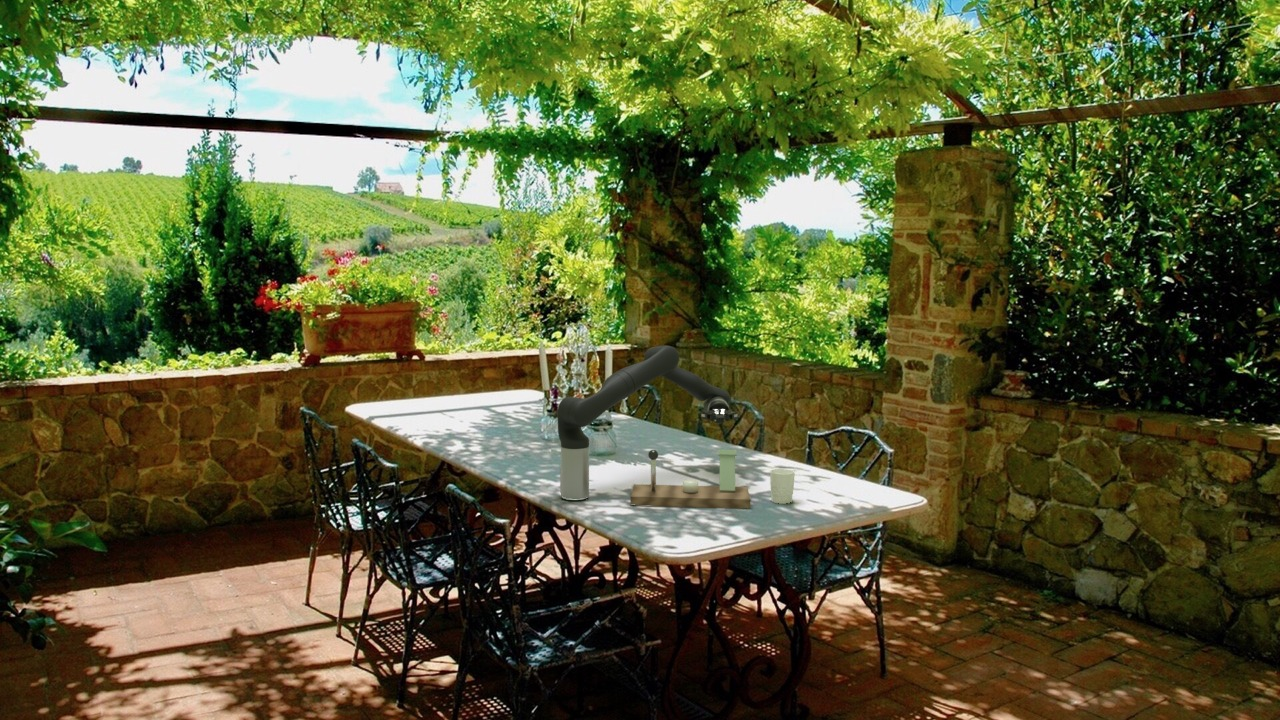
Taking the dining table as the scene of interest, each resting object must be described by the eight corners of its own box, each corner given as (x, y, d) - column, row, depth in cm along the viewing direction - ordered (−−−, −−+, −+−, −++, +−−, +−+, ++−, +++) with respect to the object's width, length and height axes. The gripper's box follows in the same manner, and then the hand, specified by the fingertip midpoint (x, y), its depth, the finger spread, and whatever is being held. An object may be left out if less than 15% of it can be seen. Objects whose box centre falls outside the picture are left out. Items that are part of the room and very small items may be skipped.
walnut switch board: (630, 505, 307) (630, 496, 307) (633, 493, 323) (633, 484, 323) (750, 508, 305) (750, 499, 305) (747, 495, 321) (747, 487, 321)
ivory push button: (682, 492, 311) (682, 482, 311) (682, 488, 316) (682, 479, 316) (698, 492, 311) (698, 483, 311) (698, 489, 316) (698, 479, 316)
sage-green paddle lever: (718, 489, 313) (718, 449, 317) (717, 491, 315) (718, 450, 319) (736, 490, 312) (736, 449, 317) (736, 491, 314) (736, 451, 318)
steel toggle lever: (648, 492, 313) (647, 453, 305) (648, 486, 316) (648, 447, 307) (658, 492, 313) (658, 454, 304) (658, 486, 315) (658, 447, 307)
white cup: (796, 500, 317) (797, 470, 315) (790, 505, 309) (790, 475, 308) (773, 497, 320) (774, 467, 319) (766, 502, 313) (767, 472, 312)
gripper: (699, 399, 339) (700, 408, 322) (737, 400, 339) (740, 409, 321) (699, 420, 340) (700, 430, 323) (737, 421, 340) (740, 431, 322)
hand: (720, 420), depth 322 cm, fingers closed
